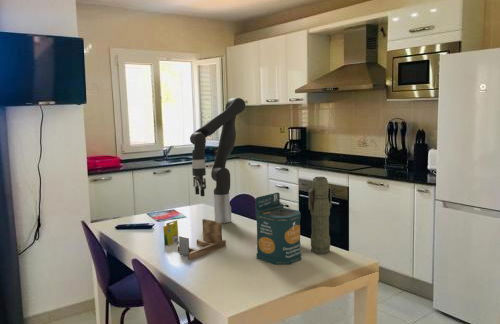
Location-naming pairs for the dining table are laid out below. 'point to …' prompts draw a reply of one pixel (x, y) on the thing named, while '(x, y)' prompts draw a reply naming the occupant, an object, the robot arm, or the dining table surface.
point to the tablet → (166, 215)
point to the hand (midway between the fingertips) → (199, 195)
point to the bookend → (184, 245)
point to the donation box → (277, 231)
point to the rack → (208, 239)
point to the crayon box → (171, 233)
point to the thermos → (320, 214)
